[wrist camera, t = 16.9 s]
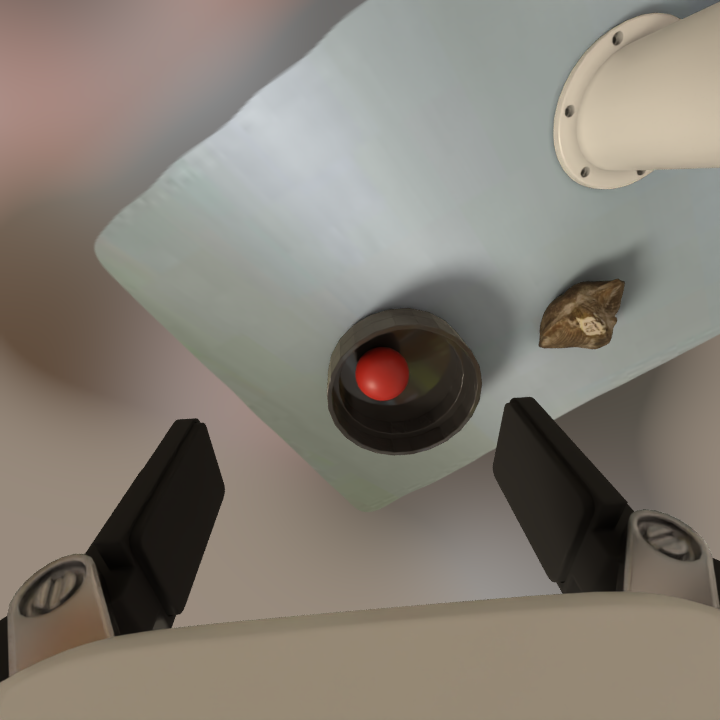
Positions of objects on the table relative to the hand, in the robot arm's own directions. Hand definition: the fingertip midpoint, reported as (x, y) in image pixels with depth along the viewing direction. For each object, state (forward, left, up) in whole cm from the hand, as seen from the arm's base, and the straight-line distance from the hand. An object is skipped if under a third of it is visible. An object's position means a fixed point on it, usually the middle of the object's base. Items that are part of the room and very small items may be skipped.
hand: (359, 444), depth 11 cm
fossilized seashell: (-26, +7, -28) cm, 39 cm away
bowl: (-6, +14, -28) cm, 32 cm away
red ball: (-4, +12, -25) cm, 28 cm away
